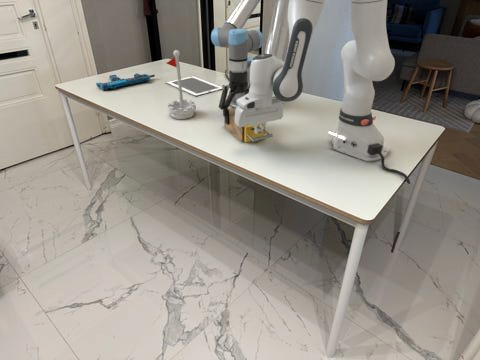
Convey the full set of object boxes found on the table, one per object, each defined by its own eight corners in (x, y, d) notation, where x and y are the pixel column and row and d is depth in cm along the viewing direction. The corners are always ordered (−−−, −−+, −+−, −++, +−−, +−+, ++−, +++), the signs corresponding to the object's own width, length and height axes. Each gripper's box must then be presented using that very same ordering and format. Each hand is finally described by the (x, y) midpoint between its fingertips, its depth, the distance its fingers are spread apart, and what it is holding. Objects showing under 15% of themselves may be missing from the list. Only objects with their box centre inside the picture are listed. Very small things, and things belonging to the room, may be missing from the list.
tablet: (166, 82, 208) (166, 82, 207) (193, 76, 219) (193, 76, 219) (195, 96, 187) (195, 95, 187) (224, 88, 198) (224, 87, 198)
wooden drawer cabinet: (263, 137, 145) (264, 118, 140) (241, 142, 141) (241, 123, 136) (244, 122, 157) (244, 105, 153) (224, 127, 153) (223, 109, 149)
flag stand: (192, 108, 172) (187, 46, 156) (199, 117, 162) (194, 52, 146) (166, 111, 169) (158, 48, 152) (172, 121, 158) (164, 54, 142)
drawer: (272, 143, 138) (273, 128, 134) (252, 148, 134) (253, 133, 131) (247, 123, 154) (247, 110, 150) (228, 127, 150) (228, 114, 147)
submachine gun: (140, 68, 225) (159, 74, 209) (141, 73, 227) (159, 80, 211) (88, 78, 207) (104, 85, 190) (90, 84, 209) (106, 92, 192)
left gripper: (258, 65, 145) (256, 113, 158) (208, 71, 137) (211, 122, 149) (267, 69, 140) (265, 119, 152) (216, 76, 131) (218, 129, 143)
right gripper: (278, 92, 134) (276, 125, 142) (232, 100, 126) (232, 134, 133) (288, 97, 129) (284, 131, 137) (240, 106, 121) (240, 140, 129)
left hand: (238, 121), depth 150 cm, fingers closed on wooden drawer cabinet, 10 cm apart
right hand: (258, 132), depth 135 cm, fingers closed
